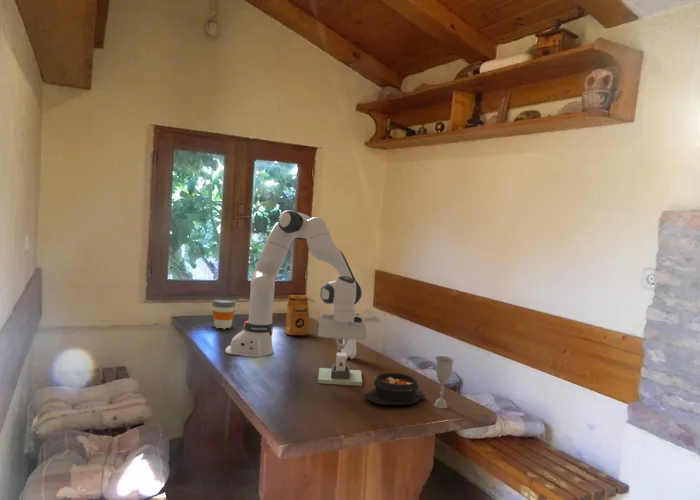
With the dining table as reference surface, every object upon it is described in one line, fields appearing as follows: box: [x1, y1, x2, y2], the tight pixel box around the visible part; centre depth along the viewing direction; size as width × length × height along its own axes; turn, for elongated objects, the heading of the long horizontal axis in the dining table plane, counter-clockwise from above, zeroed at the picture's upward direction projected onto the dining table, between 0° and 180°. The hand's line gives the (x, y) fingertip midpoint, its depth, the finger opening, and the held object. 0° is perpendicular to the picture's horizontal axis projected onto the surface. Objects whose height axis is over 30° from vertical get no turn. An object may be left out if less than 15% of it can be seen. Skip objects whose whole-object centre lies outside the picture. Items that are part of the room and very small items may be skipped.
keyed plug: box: [335, 352, 347, 371], centre depth 225 cm, size 4×9×9 cm, turn 1°
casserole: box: [363, 372, 426, 406], centre depth 206 cm, size 25×19×8 cm
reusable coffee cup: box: [212, 298, 236, 330], centre depth 303 cm, size 13×13×15 cm
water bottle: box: [340, 305, 357, 360], centre depth 258 cm, size 7×7×25 cm
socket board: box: [317, 363, 363, 387], centre depth 227 cm, size 18×16×4 cm
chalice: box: [433, 355, 455, 409], centre depth 203 cm, size 7×7×18 cm
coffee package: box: [284, 294, 310, 336], centre depth 298 cm, size 10×12×22 cm
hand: (340, 348), depth 225 cm, fingers closed
